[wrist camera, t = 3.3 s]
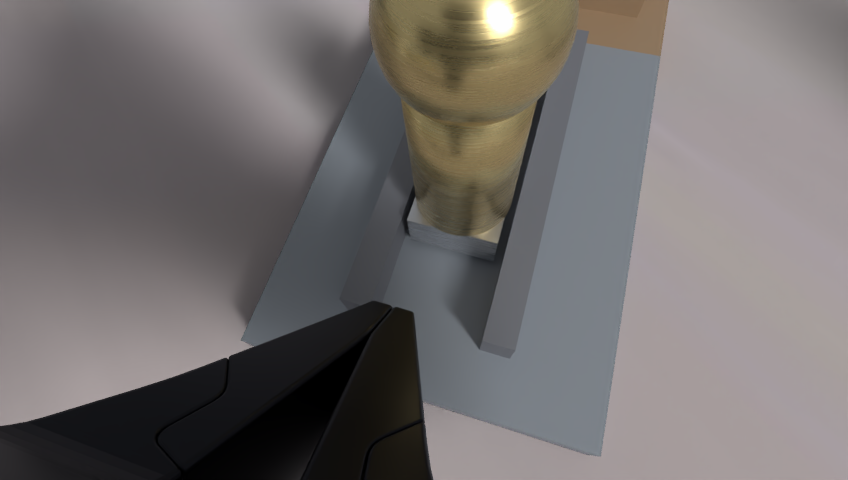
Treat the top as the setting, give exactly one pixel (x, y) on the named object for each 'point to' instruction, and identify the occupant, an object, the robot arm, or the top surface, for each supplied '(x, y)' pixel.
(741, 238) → the top surface
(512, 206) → the grey railed plate
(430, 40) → the brass ball knob
